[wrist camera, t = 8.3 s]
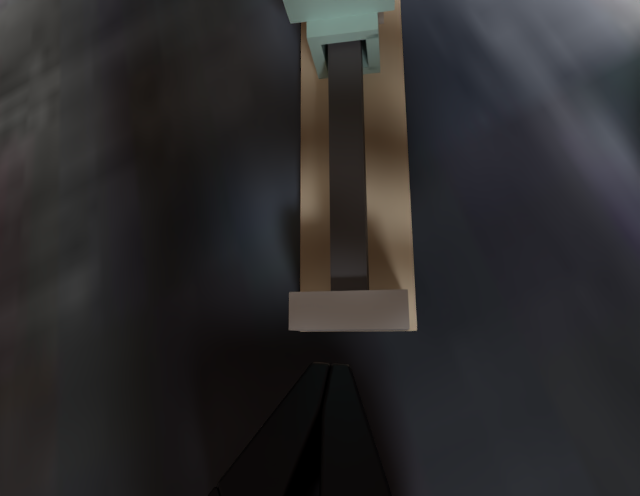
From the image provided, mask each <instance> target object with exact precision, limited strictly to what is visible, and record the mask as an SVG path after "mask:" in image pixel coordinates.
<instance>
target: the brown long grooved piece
mask: <svg viewBox="0 0 640 496" xmlns="http://www.w3.org/2000/svg"><path fill="white" fill-rule="evenodd" d="M378 22H379V47H380V72H381V73H371V74H363V59H362V40H356V41H348V42H340V43H331V44H328V78H325V79H319V78H318V75H317V71H316V68H315V65H314V61H313V58H312V55H311V51H310V48H309V44H308V41H307V22H301V214H300V292H289V330H295V331H300V332H342V331H417V319H416V300H415V280H414V261H413V241H412V222H411V202H410V183H409V163H408V144H407V124H406V105H405V86H404V66H403V47H402V27H401V8H400V0H395V10H392V11H385V12H378Z"/></svg>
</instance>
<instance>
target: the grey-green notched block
mask: <svg viewBox="0 0 640 496" xmlns="http://www.w3.org/2000/svg"><path fill="white" fill-rule="evenodd" d="M283 3H284V6H285V9H286V12H287V15H288V18H289V21H290V24H292V23H300V22H307V41H308V44H309V48H310V51H311V55H312V58H313V61H314V65H315V68H316V71H317V75H318V78H319V79H325V78H328V44H331V43H340V42H348V41H356V40H362V59H363V74H371V73H381V72H380V47H379V22H378V12H385V11H392V10H395V0H283Z"/></svg>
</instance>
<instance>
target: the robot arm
mask: <svg viewBox="0 0 640 496" xmlns="http://www.w3.org/2000/svg"><path fill="white" fill-rule="evenodd" d="M217 486H218V488H217V487H214V488H213V490H212V491H211V492H210V494H209V495H208V496H392V495H391V491H390V488H389V485H388V482H387V479H386V476H385V473H384V470H383V467H382V464H381V460H380V457H379V454H378V451H377V448H376V445H375V442H374V439H373V436H372V433H371V429H370V426H369V423H368V420H367V417H366V414H365V411H364V408H363V405H362V402H361V398H360V395H359V392H358V389H357V386H356V383H355V380H354V377H353V374H352V371H351V368H350V366H349V365H348V364H338V363H333V364H332V365H330V364H329V363H322V362H313V363H312V364H311V365H310V366H309V367H308V368H307V370H306V371H305V372H304V373H303V375H302V376H301V377H300V379H299V380H298V381H297V382H296V384H295V385H294V386H293V388H292V389H291V390H290V391H289V393H288V394H287V395H286V396H285V398H284V399H283V400H282V402H281V403H280V404H279V405H278V407H277V408H276V409H275V411H274V412H273V413H272V414H271V416H270V417H269V418H268V420H267V421H266V422H265V423H264V425H263V426H262V427H261V429H260V430H259V431H258V432H257V434H256V435H255V436H254V437H253V439H252V440H251V441H250V443H249V444H248V445H247V446H246V448H245V449H244V450H243V452H242V453H241V454H240V455H239V457H238V458H237V459H236V461H235V462H234V463H233V464H232V466H231V467H230V468H229V470H228V471H227V472H226V473H225V475H224V476H223V477H222V478H221V480H220V481H219V482H218V484H217Z"/></svg>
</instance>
